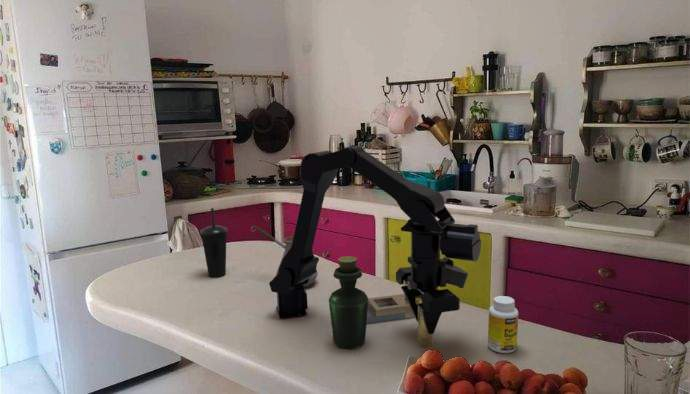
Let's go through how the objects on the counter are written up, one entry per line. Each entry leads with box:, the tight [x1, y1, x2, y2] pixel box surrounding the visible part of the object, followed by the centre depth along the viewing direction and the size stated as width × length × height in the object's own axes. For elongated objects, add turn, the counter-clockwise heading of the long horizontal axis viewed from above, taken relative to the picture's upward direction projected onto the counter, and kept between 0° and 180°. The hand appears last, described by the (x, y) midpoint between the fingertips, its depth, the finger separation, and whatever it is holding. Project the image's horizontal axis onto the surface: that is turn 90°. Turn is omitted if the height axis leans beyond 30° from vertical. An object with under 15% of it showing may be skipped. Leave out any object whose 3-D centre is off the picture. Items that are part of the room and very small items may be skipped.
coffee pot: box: [249, 224, 319, 289], centre depth 140 cm, size 21×12×15 cm, turn 57°
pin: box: [415, 294, 434, 348], centre depth 102 cm, size 4×4×10 cm
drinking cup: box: [199, 207, 228, 279], centre depth 145 cm, size 8×8×20 cm
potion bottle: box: [328, 255, 369, 350], centre depth 103 cm, size 8×8×18 cm
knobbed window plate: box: [366, 293, 415, 325], centre depth 117 cm, size 18×7×4 cm, turn 104°
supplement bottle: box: [487, 295, 519, 354], centre depth 100 cm, size 6×6×10 cm
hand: (425, 327), depth 102 cm, fingers open, 5 cm apart
